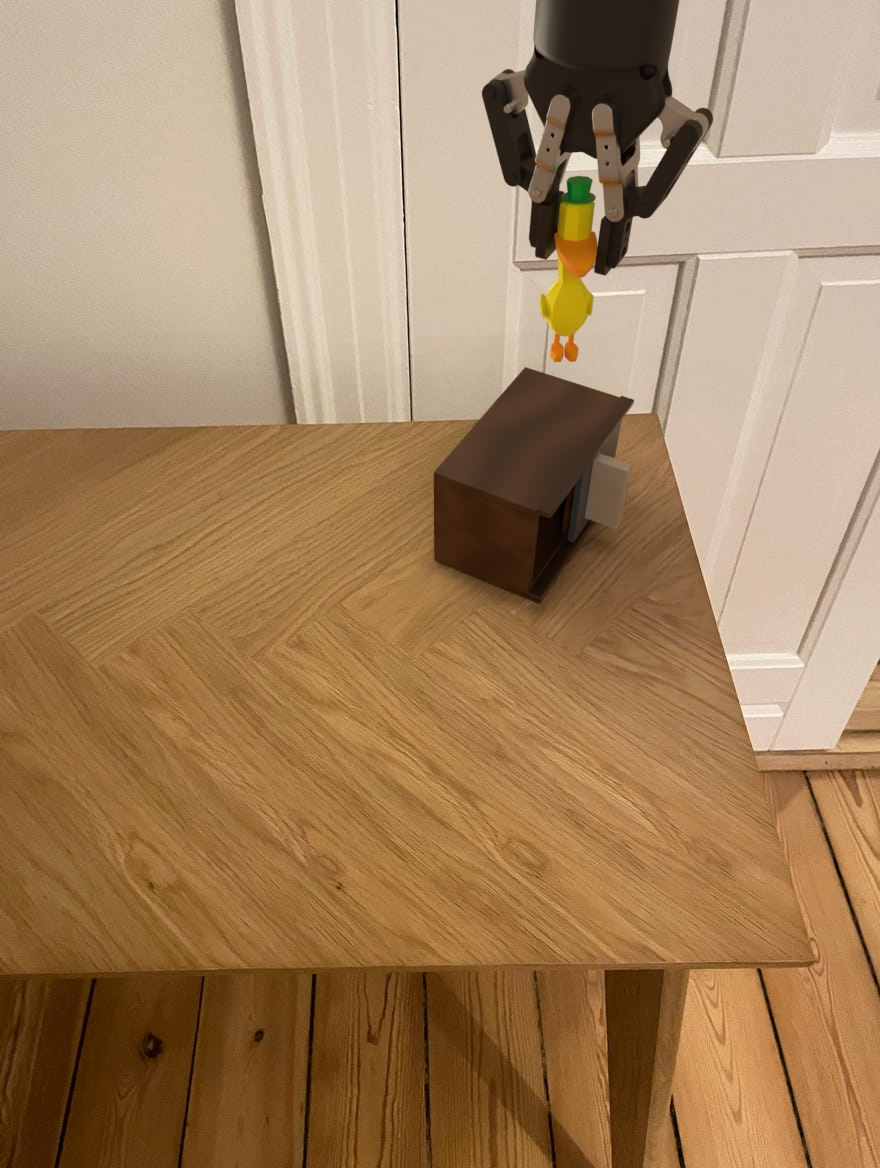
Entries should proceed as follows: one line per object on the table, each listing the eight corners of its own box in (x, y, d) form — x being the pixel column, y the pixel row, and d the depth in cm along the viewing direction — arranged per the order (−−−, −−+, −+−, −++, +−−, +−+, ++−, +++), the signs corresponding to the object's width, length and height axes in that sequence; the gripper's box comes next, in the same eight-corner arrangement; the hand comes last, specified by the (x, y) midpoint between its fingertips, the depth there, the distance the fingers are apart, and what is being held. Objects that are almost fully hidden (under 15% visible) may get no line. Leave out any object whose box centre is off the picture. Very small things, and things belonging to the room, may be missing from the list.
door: (640, 502, 87) (656, 427, 80) (605, 555, 83) (619, 480, 76) (603, 489, 88) (615, 413, 82) (566, 540, 84) (577, 465, 78)
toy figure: (594, 383, 66) (618, 212, 57) (542, 385, 66) (557, 214, 57) (582, 327, 71) (602, 159, 61) (533, 329, 71) (545, 162, 61)
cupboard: (617, 491, 89) (634, 399, 81) (539, 604, 81) (550, 514, 73) (518, 455, 93) (525, 364, 85) (434, 560, 84) (433, 470, 77)
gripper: (772, -56, 49) (700, 261, 63) (521, -91, 54) (503, 210, 67) (723, -9, 45) (657, 319, 59) (456, -51, 50) (451, 261, 63)
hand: (575, 259), depth 63 cm, fingers closed on toy figure, 3 cm apart
